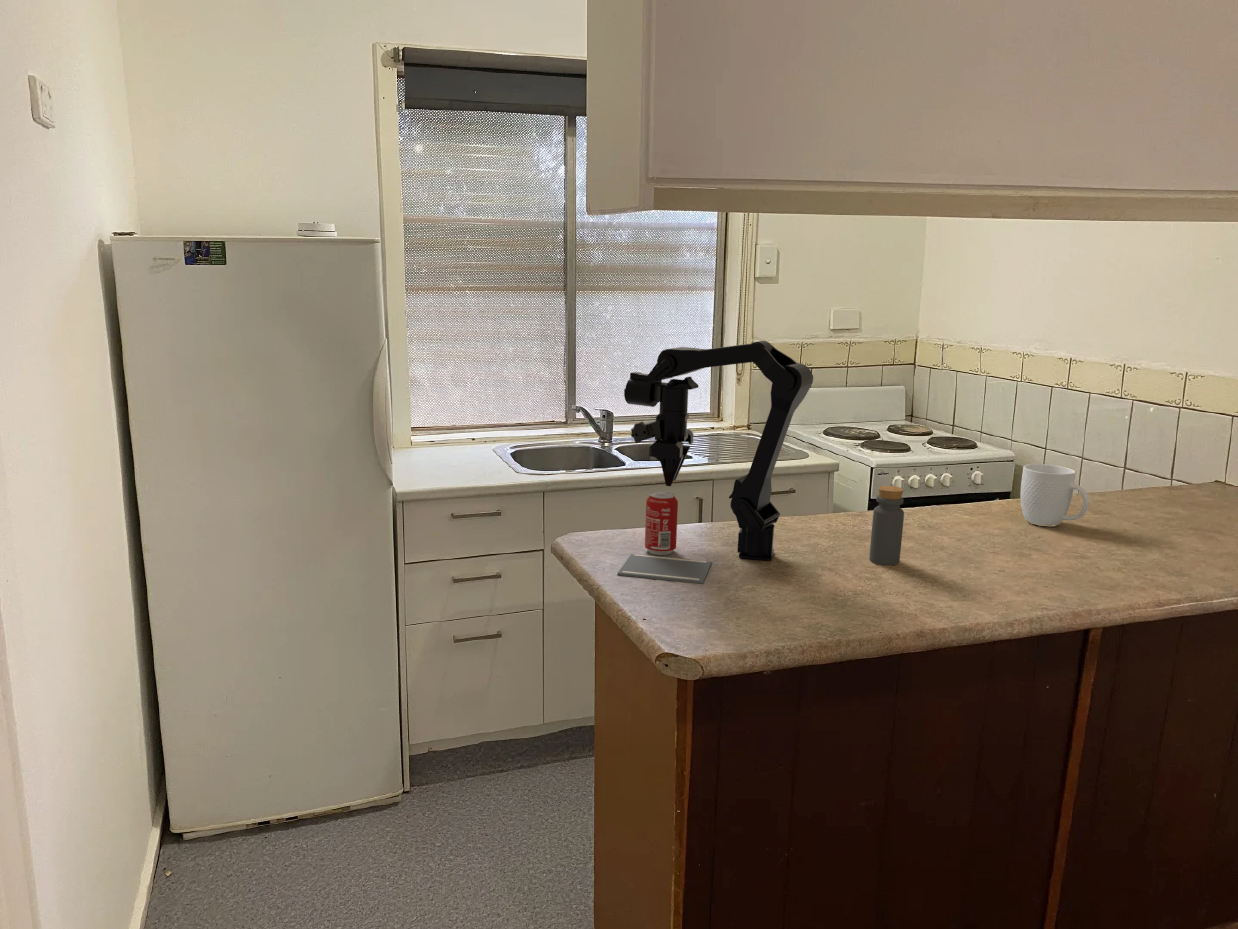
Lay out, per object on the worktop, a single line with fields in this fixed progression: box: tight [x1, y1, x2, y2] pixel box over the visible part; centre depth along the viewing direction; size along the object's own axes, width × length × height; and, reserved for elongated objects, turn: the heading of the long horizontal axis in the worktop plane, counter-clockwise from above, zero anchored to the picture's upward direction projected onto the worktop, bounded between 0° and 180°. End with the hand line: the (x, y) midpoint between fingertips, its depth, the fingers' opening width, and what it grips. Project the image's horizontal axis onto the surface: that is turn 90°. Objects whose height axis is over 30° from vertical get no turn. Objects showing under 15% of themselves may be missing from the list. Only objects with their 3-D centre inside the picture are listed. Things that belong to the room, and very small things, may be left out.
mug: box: [1019, 463, 1090, 526], centre depth 215 cm, size 15×11×13 cm
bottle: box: [868, 485, 905, 566], centre depth 185 cm, size 6×6×15 cm
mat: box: [617, 553, 712, 585], centre depth 178 cm, size 16×12×1 cm
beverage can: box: [644, 490, 679, 556], centre depth 188 cm, size 6×6×12 cm
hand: (670, 483), depth 195 cm, fingers open, 5 cm apart
